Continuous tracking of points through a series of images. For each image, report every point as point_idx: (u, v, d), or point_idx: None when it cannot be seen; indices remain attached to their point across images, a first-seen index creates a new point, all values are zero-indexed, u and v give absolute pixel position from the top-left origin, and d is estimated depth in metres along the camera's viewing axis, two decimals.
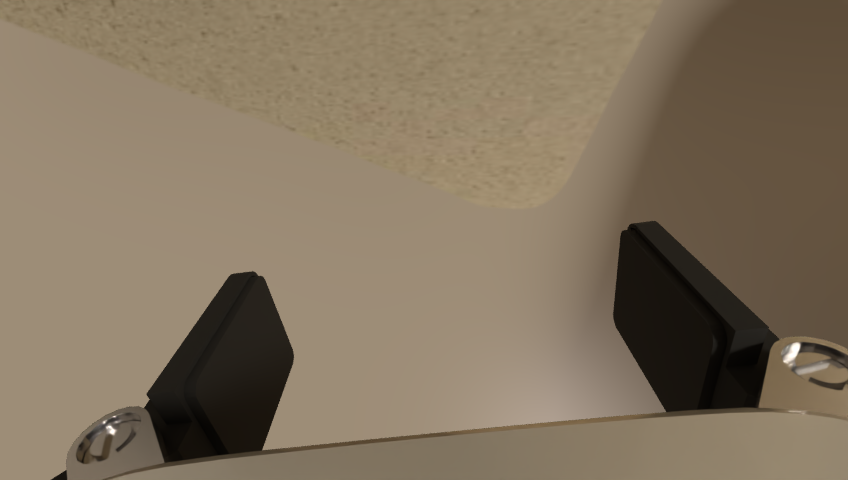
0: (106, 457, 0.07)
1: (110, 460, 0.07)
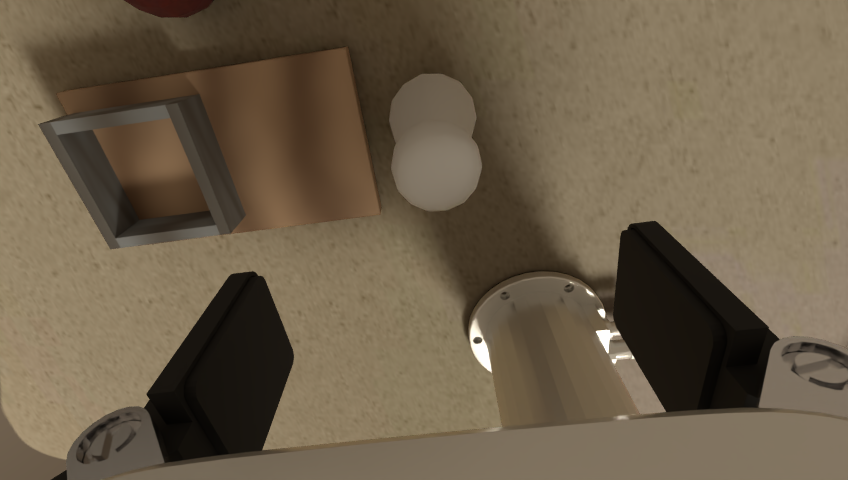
0: (106, 457, 0.07)
1: (110, 460, 0.07)
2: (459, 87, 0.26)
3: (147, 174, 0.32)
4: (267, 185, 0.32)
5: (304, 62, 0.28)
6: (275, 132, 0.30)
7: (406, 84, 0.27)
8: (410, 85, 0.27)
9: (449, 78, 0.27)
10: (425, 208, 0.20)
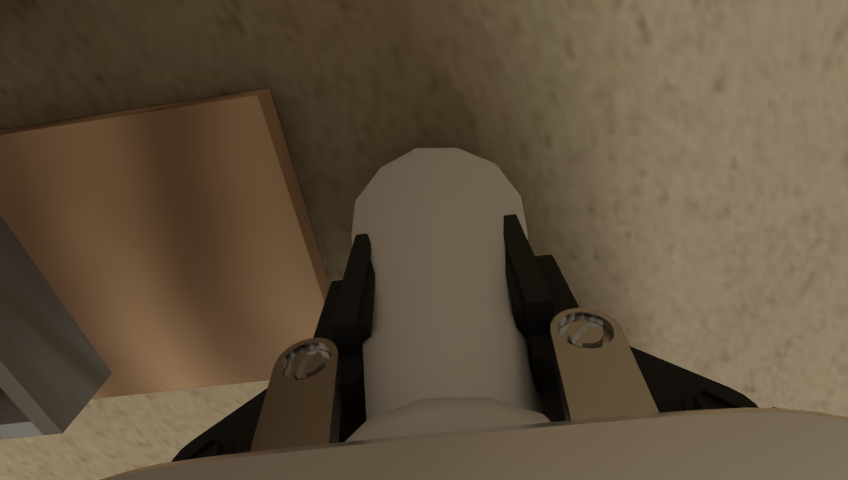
0: (298, 376, 0.08)
1: (299, 382, 0.07)
2: (497, 183, 0.12)
3: None
4: (141, 330, 0.18)
5: (177, 123, 0.14)
6: (139, 247, 0.16)
7: (383, 173, 0.13)
8: (391, 178, 0.12)
9: (474, 160, 0.13)
10: None
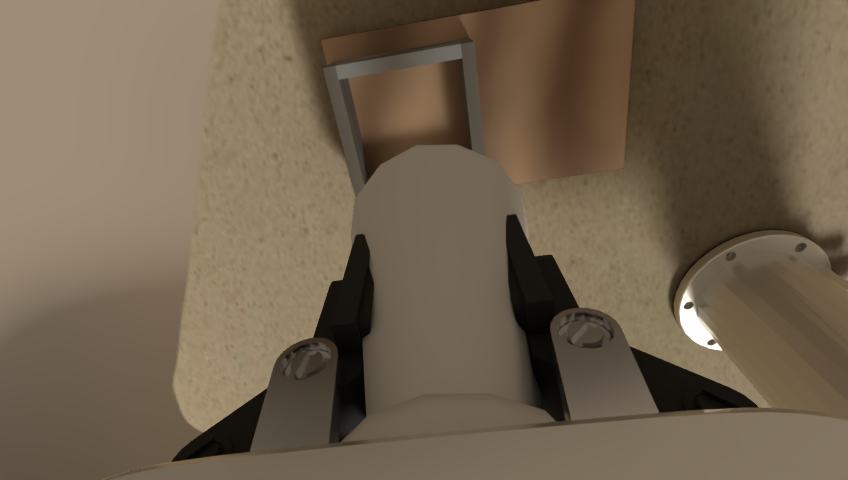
0: (298, 376, 0.08)
1: (299, 382, 0.07)
2: (498, 180, 0.12)
3: (392, 127, 0.30)
4: (514, 138, 0.31)
5: (589, 0, 0.27)
6: (537, 79, 0.29)
7: (383, 170, 0.13)
8: (391, 175, 0.12)
9: (475, 157, 0.13)
10: None
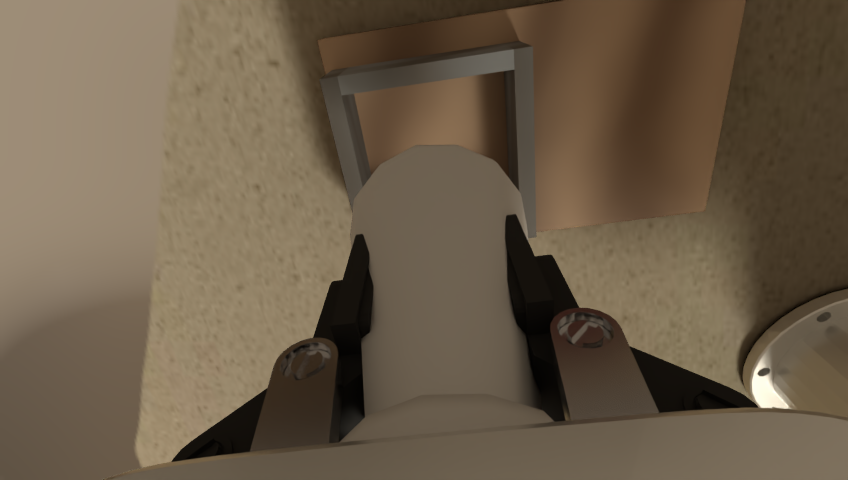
0: (298, 376, 0.08)
1: (299, 382, 0.07)
2: (497, 180, 0.12)
3: None
4: (567, 171, 0.24)
5: None
6: (605, 96, 0.22)
7: (383, 170, 0.13)
8: (390, 175, 0.12)
9: (474, 157, 0.13)
10: None
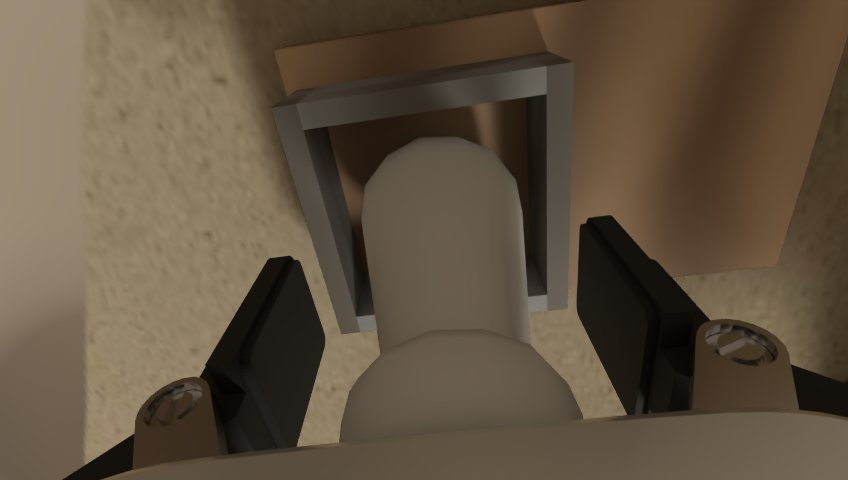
0: (169, 422, 0.07)
1: (171, 426, 0.07)
2: (494, 167, 0.14)
3: None
4: None
5: None
6: (659, 124, 0.16)
7: (391, 159, 0.14)
8: (398, 163, 0.14)
9: (473, 147, 0.14)
10: None
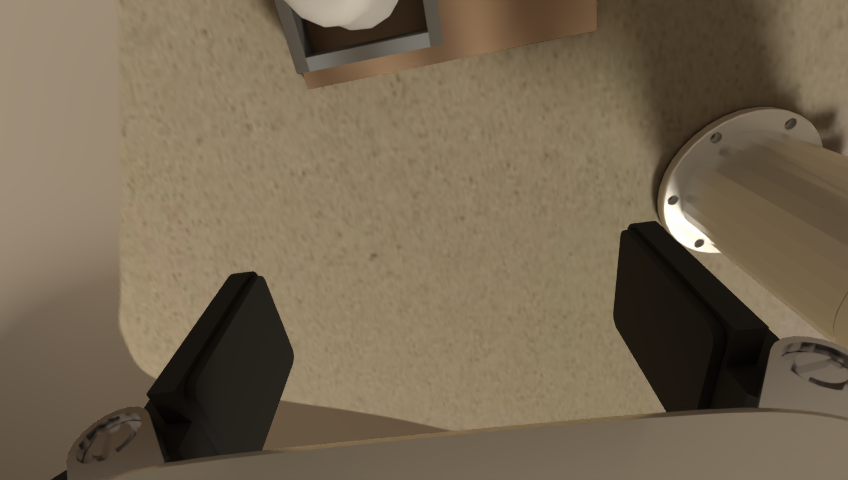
0: (106, 457, 0.07)
1: (110, 460, 0.07)
2: None
3: None
4: None
5: None
6: None
7: None
8: None
9: None
10: (317, 18, 0.16)
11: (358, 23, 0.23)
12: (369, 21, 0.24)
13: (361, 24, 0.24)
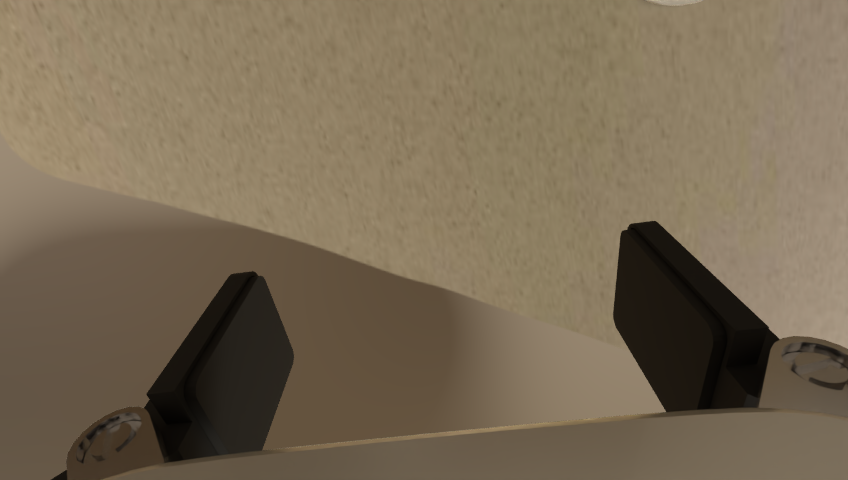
0: (106, 457, 0.07)
1: (110, 460, 0.07)
2: None
3: None
4: None
5: None
6: None
7: None
8: None
9: None
10: None
11: None
12: None
13: None
